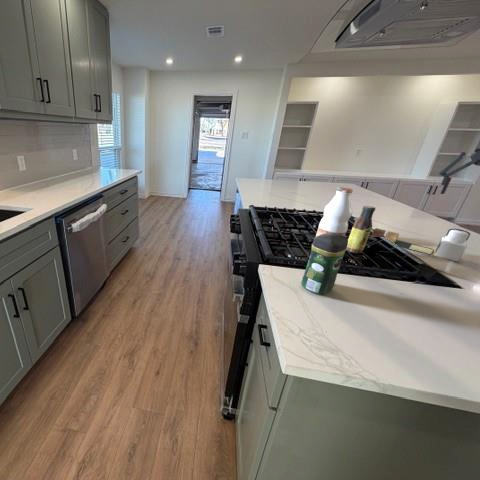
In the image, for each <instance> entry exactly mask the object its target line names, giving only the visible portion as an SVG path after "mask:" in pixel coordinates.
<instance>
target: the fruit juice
mask: <svg viewBox="0 0 480 480" xmlns="http://www.w3.org/2000/svg"><path fill="white" fill-rule="evenodd" d="M353 191H354V190H353V189H352V188H350V187H342V186H340V187H337V188H336V191H335V192H336V193H335V195H334V196H333V198H332V199H331V200H330V201H329V203H328V204H326V206H324V209H323V217H322V218H321V219H320V221H319V223H318V228H317V231H316V234H315V237H316V236H319V235H322V234H327V233H332V232H333V233H336V234H339V235H342V236H345V237H346V234H347V231H348V228H349V220H350V218H351V217H352V215H353V208H352V204H351V195H352V194H353Z"/></svg>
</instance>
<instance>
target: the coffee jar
mask: <svg viewBox="0 0 480 480" xmlns="http://www.w3.org/2000/svg"><path fill="white" fill-rule="evenodd" d="M347 245H348V238H347V237H346V235H345V236H342V235H339V234H336V233H333V232H332V233H327V234H322V235H319V236H316V235H315V236H314V238H313V241H312V244H311V250H310V255H309V257H308V261H307V264H306V268H305V270H304V273H303V276H302V279H301V282H300V285H301V286H302V287H303V288H304V289H305V290H306V291H308V292H310V293H313V294H317V295H324V294H327V293H329V292H331V291H332V290H333V289H334V287H335V283H336V281H337V278H338V277H337V276H338V273H339V270H340V267H341V264H342V261H343V258H344V256H345V253H346V251H347V250H346V248H347Z"/></svg>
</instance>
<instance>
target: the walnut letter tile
mask: <svg viewBox="0 0 480 480" xmlns="http://www.w3.org/2000/svg"><path fill="white" fill-rule="evenodd" d="M386 233H387V230H385V229H383V228H382V229H381V228H378V227H376V228H374V229H373V231H372V233H371V235H370V236H371V238H372V237H385V235H386ZM375 239H376V238H375Z"/></svg>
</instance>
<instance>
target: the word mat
mask: <svg viewBox="0 0 480 480" xmlns="http://www.w3.org/2000/svg"><path fill="white" fill-rule="evenodd" d="M367 240H372V241H375V240H377V239H375V238H371V235H369V237H368V239H367ZM395 244H397V245H398V246H399V247H398V246H397V247H398V248H402V249H406V250H409V251H413V252H417V253H421V254H423V255H428V256H431V254H432V253H433V251H434V248H432V247H431V248H430V247H428V246H427V247H426V246H423V245H418V244H415V243H410V242H407V241H403V240H398V239H397V241H396V242H395Z"/></svg>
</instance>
